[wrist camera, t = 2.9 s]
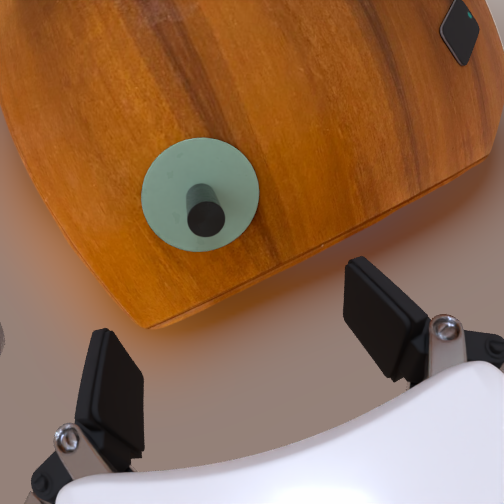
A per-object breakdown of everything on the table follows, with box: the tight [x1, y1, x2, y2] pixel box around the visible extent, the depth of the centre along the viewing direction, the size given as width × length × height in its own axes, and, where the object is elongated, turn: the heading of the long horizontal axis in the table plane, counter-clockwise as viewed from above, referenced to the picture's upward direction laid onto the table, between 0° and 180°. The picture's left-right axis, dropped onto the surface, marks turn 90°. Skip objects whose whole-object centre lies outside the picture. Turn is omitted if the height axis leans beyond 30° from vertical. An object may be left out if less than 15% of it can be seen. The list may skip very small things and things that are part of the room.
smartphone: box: [440, 0, 479, 65], centre depth 20 cm, size 8×1×15 cm
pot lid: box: [141, 138, 259, 252], centre depth 23 cm, size 11×11×7 cm
